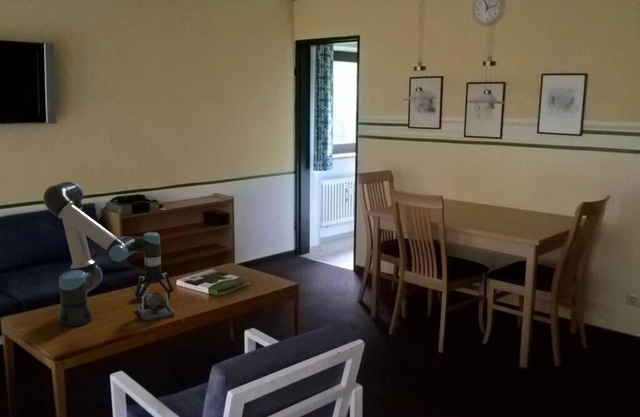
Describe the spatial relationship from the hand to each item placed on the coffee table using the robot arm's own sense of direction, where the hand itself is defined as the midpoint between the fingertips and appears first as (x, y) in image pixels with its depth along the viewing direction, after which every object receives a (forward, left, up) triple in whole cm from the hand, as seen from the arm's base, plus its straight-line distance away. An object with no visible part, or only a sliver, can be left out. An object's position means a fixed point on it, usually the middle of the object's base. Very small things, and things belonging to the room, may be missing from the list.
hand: (155, 307), depth 298 cm
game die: (-1, +25, -3) cm, 25 cm away
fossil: (0, 0, -1) cm, 1 cm away
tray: (0, 0, -3) cm, 3 cm away
